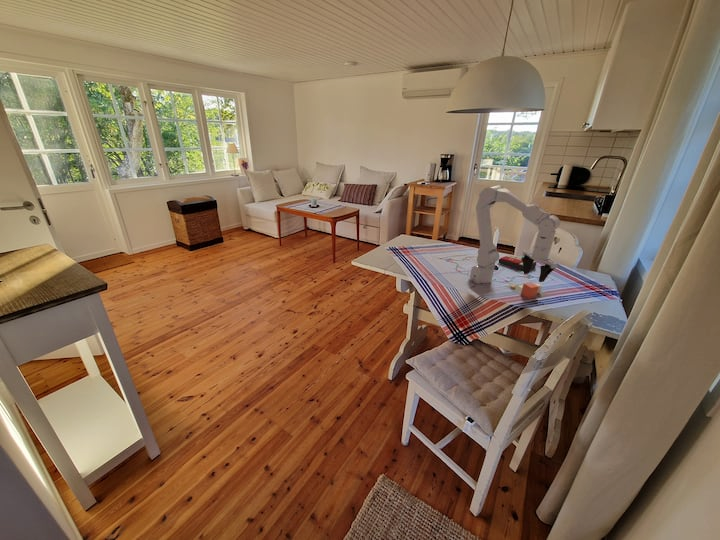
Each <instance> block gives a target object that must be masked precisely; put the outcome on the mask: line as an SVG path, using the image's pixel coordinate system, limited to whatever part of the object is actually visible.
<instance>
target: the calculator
mask: <svg viewBox="0 0 720 540" xmlns="http://www.w3.org/2000/svg"><path fill="white" fill-rule="evenodd" d="M522 257H523V256H522ZM522 257H521V256H517V255H514V254H506V255H505V256H503V257H499V259H498V262H499V263H501V264H500V265H502V264H503V265H502V266H504V265H506V267H507V266H508V268H510V267H511V268H510V269H514V270H517V271H519V270H520V272H522V271H523V272H522V273H524V267H523V262H522V260H521V258H522ZM499 263H498V264H499ZM536 267H537V261H536V260H534V262H533V264H532V266H531V269H530V271H532V270H535V269H536Z"/></svg>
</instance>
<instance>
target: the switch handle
mask: <svg viewBox="0 0 720 540" xmlns="http://www.w3.org/2000/svg"><path fill="white" fill-rule="evenodd" d="M534 284H535V285H537V286H539V288H538V291H537V293H539V292H540V291H542V287H543V285H542V284H539V283H534Z"/></svg>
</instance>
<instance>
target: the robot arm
mask: <svg viewBox="0 0 720 540" xmlns="http://www.w3.org/2000/svg"><path fill="white" fill-rule="evenodd" d="M478 196H479V197H478V200H477V203H476V207H475V211H476V219H477V227H478V236H479V237H478V238H479V245H480V246H479V248H478V250H477V257H476V262H477V264H476V265H475V266H474V265H473V266H472V268H471V270H470V275H469V278H468V281H471V280H472V282H474V283H476V284H484V283H485V284H487V283H489V284H490V283H491V282H492V280H493V277H494V271H495V267H496V262H498V261H499V259H500V253H499V251H498V250H497V246H496V245H495V244H494V239H493V231H492V220H491V213H490V212H491V211H490V209H491V207H493V206H494V205H495V203H503V202H504V203H506V204H508V205H509V206H511V207H513V208H514V209H516V210H518V211H519V212H520V213H522V217H523V218H524V219H526V220H528V221H529V222H530V223H531V224H534V225H535V226H536V227H537V229H538V231H537V235H536V238H535V242H534V246H533V249H532V252H531V251H529V250H522V258H521V260H522V262H523V267H524V272H523V275H528V274H530V272H531V270H530V269H531V266H532V264H533V262H534V261H535V262H538V263H540V264H543V265H540V266H539V267H540V274H539V278H538V282H539V283H543V282H545V280H547V278H548V276H549V275H550V274H551V273H552V272H553V271H554V270H555V269H557V267H558V263H557V262H555V261H554V260H552V259H551V258H550V257H549V255H550V252H551V248H552V246H553V242H554V239H555V235H556V232H557V231H556V230H557V229H558V228H559V227H560V225H561V220H560V218H559V217H558V216H557V215H555V214H551V212H546V211H545V210H543V209H541V208H540V205H539V204H533V203H532V204H528V203H526V202H525V201H523V199H521V198H519V197H518V196H517V195H516V194H514V193H512V192H511V191H510V190H509V189H508V188H505V187H503V186H502V185H493V186H486V187H484V189H482V190H481V191H480V193H479V194H478Z"/></svg>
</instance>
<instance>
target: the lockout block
mask: <svg viewBox="0 0 720 540" xmlns="http://www.w3.org/2000/svg"><path fill="white" fill-rule="evenodd" d="M522 284H523V288H522V291H521V294H522V295H523V296H525V297H527V298H532V299H534V298H533V297H536V294H537V291H538V288H539V286H537V285H535V284H536V283H533V282H525V283H522ZM523 296H522V297H523Z"/></svg>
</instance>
